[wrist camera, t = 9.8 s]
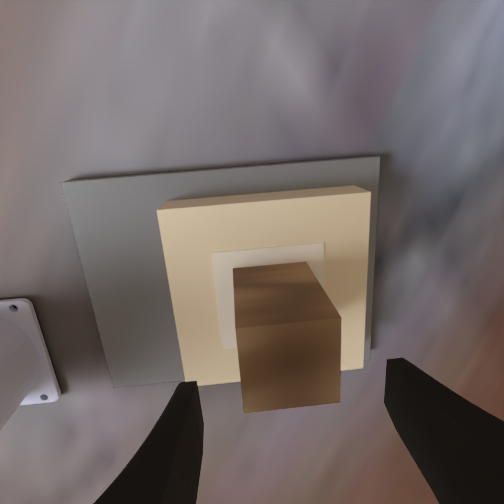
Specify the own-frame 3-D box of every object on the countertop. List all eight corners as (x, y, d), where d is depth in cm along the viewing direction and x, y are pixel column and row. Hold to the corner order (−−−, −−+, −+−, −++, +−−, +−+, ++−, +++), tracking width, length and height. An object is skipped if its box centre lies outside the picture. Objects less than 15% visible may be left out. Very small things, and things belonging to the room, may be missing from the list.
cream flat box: (117, 377, 24) (99, 417, 21) (68, 180, 19) (35, 189, 16) (364, 352, 25) (385, 386, 21) (373, 155, 20) (402, 159, 17)
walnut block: (239, 332, 19) (243, 413, 14) (232, 268, 18) (235, 328, 12) (307, 325, 20) (340, 402, 14) (306, 261, 18) (341, 317, 13)
